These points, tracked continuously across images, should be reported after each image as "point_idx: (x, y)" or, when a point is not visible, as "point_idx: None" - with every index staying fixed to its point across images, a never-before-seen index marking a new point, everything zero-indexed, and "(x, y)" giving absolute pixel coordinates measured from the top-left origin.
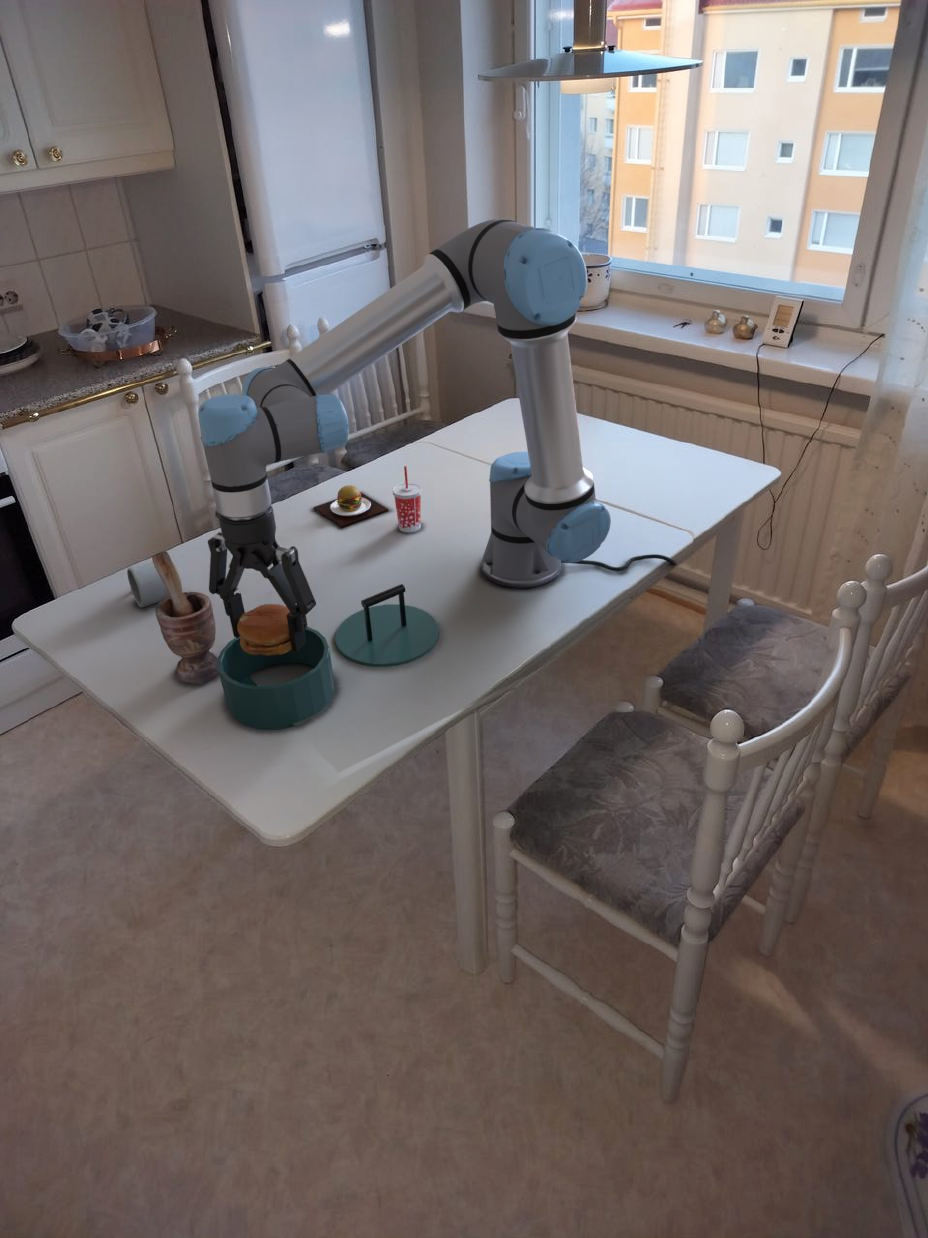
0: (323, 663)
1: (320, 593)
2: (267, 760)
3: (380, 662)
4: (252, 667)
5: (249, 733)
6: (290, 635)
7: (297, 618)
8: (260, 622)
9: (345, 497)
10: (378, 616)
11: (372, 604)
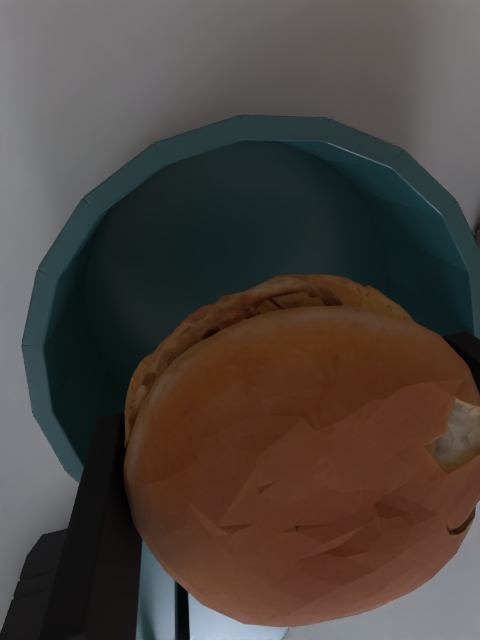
0: (50, 440)
1: (428, 610)
2: (23, 20)
3: None
4: None
5: (189, 101)
6: (106, 480)
7: (28, 637)
8: (325, 459)
9: None
10: (232, 637)
11: None
